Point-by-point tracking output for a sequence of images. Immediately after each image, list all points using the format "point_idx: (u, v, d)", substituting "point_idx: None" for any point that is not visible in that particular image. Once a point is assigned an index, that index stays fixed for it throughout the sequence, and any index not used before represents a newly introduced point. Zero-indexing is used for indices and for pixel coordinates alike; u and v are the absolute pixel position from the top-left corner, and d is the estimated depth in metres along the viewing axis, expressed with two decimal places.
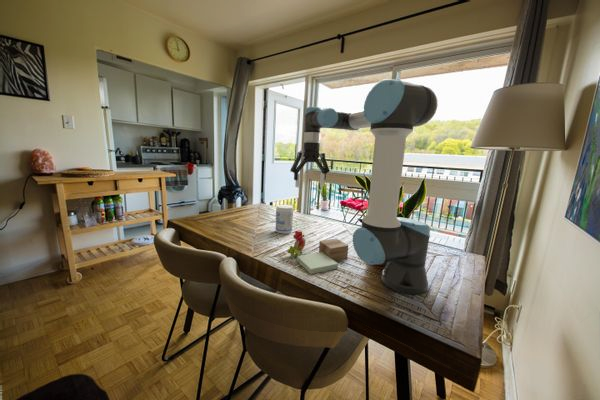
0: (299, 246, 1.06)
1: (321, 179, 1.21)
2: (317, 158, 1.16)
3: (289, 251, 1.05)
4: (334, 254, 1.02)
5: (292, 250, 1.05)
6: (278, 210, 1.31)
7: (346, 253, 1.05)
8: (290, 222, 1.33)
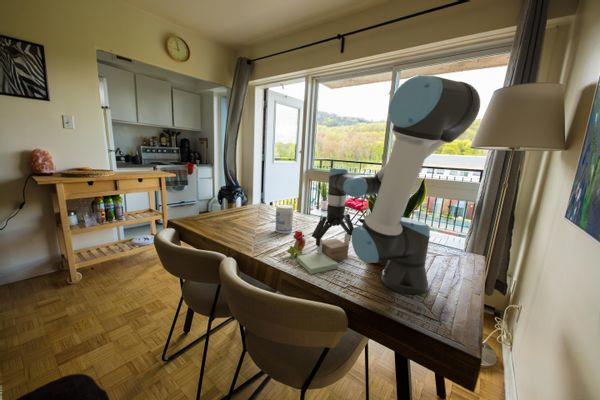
0: (299, 246, 1.06)
1: (346, 240, 1.10)
2: (342, 221, 1.04)
3: (289, 251, 1.05)
4: (335, 254, 1.02)
5: (292, 250, 1.05)
6: (278, 210, 1.31)
7: (346, 253, 1.05)
8: (290, 222, 1.33)
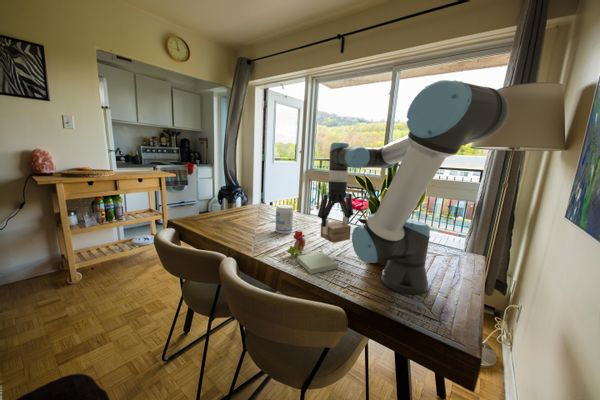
0: (299, 246, 1.06)
1: (344, 223, 1.06)
2: (343, 199, 1.02)
3: (289, 251, 1.05)
4: (337, 235, 0.99)
5: (292, 250, 1.05)
6: (278, 210, 1.31)
7: (349, 234, 1.03)
8: (290, 222, 1.33)
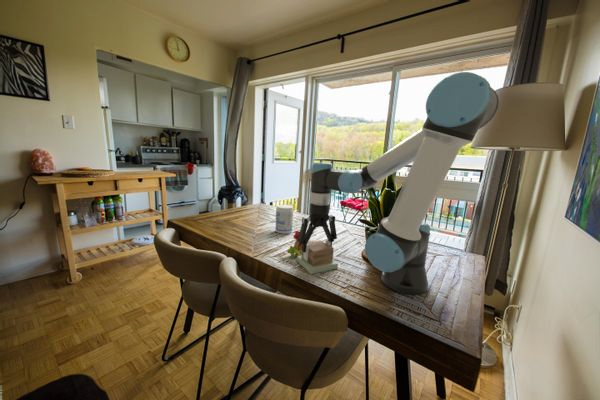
0: (299, 246, 1.06)
1: None
2: (325, 223, 0.94)
3: (289, 251, 1.05)
4: (318, 258, 0.92)
5: (292, 250, 1.05)
6: (278, 210, 1.31)
7: (331, 256, 0.95)
8: (290, 222, 1.33)
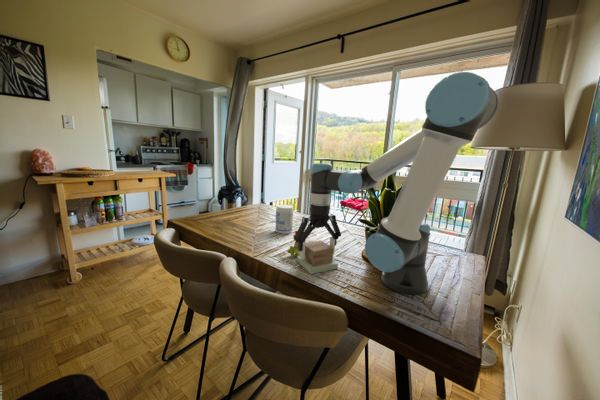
0: None
1: (331, 245, 0.99)
2: (326, 223, 0.94)
3: (289, 251, 1.05)
4: (318, 258, 0.92)
5: (292, 250, 1.05)
6: (278, 210, 1.31)
7: (331, 256, 0.95)
8: (290, 222, 1.33)
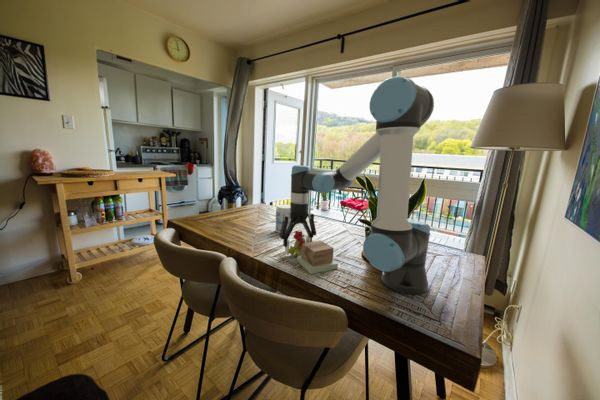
0: (299, 246, 1.06)
1: (307, 242, 1.09)
2: (305, 220, 1.04)
3: (289, 251, 1.05)
4: (318, 258, 0.92)
5: (292, 250, 1.05)
6: (278, 210, 1.31)
7: (331, 256, 0.95)
8: None
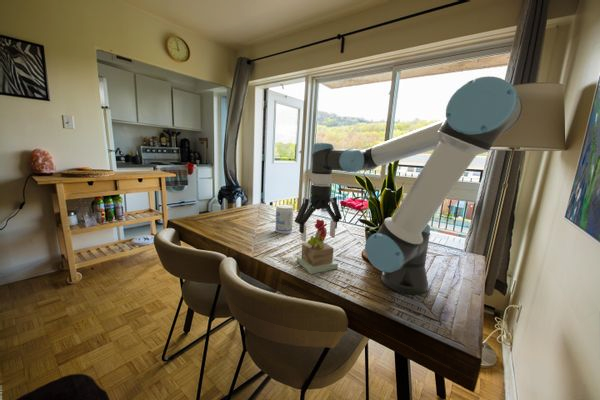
0: (321, 236, 0.95)
1: (331, 228, 0.98)
2: (327, 204, 0.93)
3: (310, 242, 0.95)
4: (318, 258, 0.92)
5: (313, 241, 0.94)
6: (278, 210, 1.31)
7: (331, 256, 0.95)
8: (290, 222, 1.33)
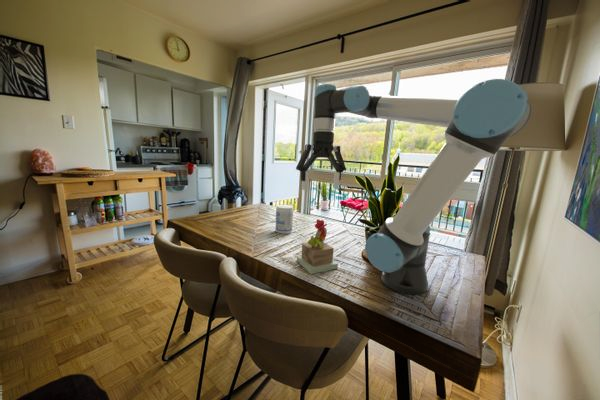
0: (321, 237, 0.95)
1: (335, 179, 0.94)
2: (331, 152, 0.89)
3: (310, 242, 0.94)
4: (318, 258, 0.92)
5: (313, 241, 0.94)
6: (278, 210, 1.31)
7: (331, 256, 0.95)
8: (290, 222, 1.33)
